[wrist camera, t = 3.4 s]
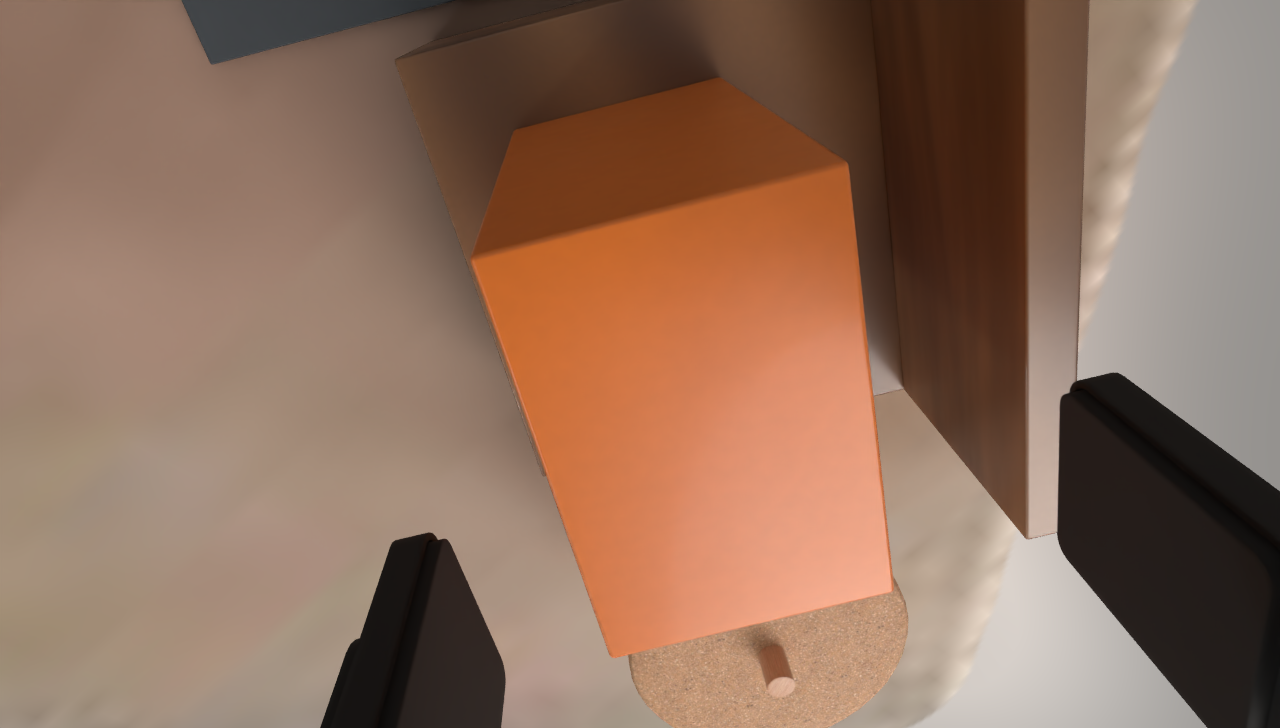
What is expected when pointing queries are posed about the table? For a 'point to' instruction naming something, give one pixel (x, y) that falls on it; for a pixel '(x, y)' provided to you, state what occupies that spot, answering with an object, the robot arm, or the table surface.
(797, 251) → the block
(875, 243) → the wooden toy chair
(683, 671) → the trinket box
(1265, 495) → the robot arm
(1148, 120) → the table surface
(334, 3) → the mat
